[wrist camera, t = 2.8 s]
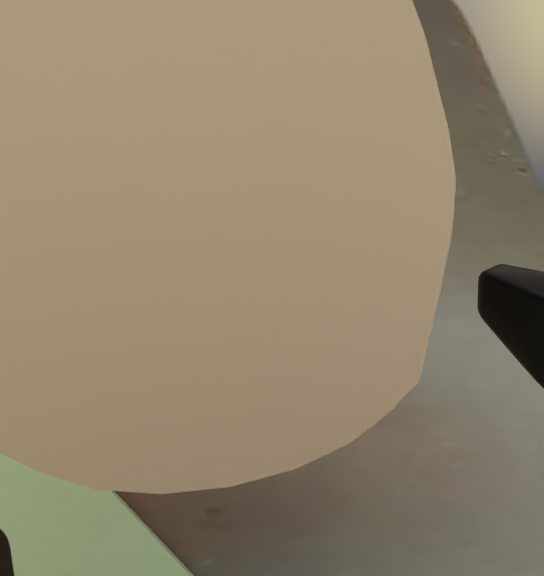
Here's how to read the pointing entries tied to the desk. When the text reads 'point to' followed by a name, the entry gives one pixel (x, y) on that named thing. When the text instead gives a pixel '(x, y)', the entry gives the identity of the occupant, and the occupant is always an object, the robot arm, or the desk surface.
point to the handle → (213, 233)
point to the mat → (75, 529)
